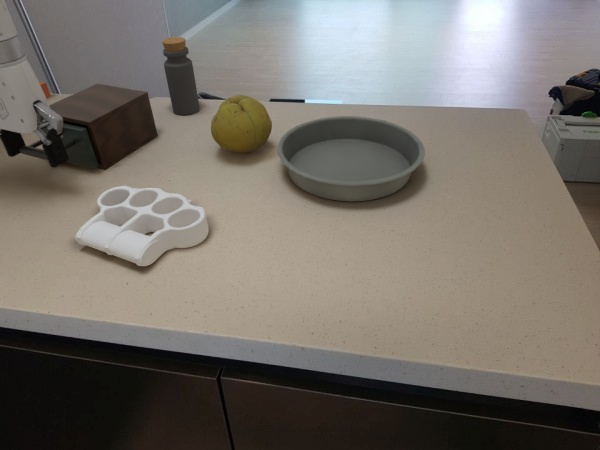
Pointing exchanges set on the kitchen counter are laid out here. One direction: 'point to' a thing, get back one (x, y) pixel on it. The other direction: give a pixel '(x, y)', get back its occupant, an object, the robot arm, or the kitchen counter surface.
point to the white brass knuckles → (143, 224)
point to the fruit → (241, 124)
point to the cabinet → (111, 119)
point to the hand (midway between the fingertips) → (38, 158)
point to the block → (45, 89)
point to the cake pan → (350, 157)
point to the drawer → (70, 146)
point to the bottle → (180, 77)
